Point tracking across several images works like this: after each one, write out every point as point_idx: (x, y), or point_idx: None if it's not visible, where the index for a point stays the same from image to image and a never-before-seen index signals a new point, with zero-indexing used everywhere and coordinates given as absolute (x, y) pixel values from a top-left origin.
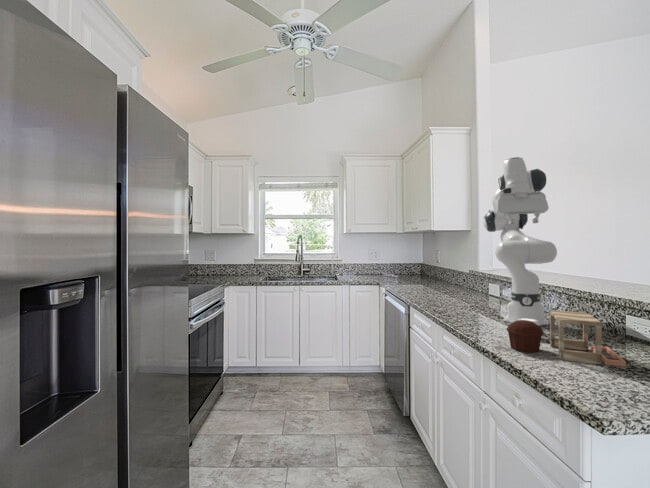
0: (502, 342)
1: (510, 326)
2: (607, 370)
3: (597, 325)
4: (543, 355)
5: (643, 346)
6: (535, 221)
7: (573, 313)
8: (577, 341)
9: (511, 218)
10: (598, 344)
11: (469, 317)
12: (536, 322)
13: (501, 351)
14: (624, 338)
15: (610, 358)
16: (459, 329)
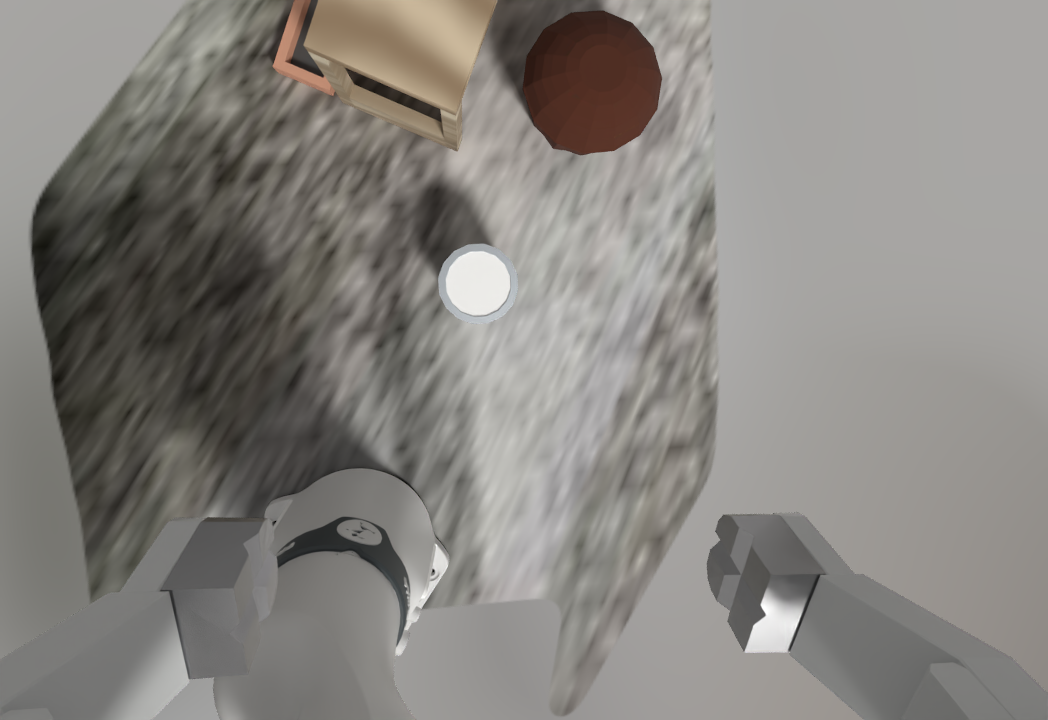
0: (616, 196)
1: (657, 77)
2: None
3: None
4: None
5: (75, 151)
6: (247, 520)
7: (384, 27)
8: (374, 94)
9: (834, 581)
10: None
11: (572, 622)
12: (455, 251)
13: (674, 76)
14: (68, 274)
15: None
16: (701, 391)
